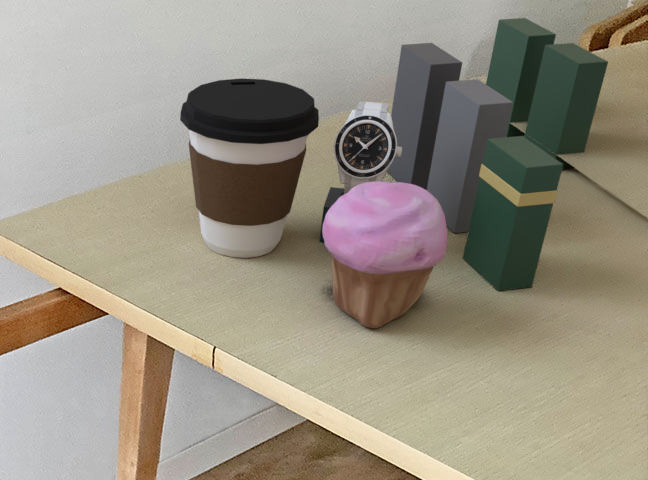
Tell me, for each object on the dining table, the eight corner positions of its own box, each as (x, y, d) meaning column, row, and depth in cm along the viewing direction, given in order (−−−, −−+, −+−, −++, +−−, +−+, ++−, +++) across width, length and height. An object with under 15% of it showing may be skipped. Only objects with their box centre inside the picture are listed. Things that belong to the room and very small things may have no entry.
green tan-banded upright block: (533, 287, 85) (564, 164, 79) (497, 291, 85) (526, 167, 78) (495, 254, 90) (522, 135, 84) (461, 258, 89) (486, 138, 83)
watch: (316, 251, 90) (331, 119, 83) (329, 213, 96) (344, 87, 89) (383, 259, 89) (405, 126, 82) (392, 220, 95) (413, 93, 88)
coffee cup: (169, 216, 95) (173, 77, 88) (291, 213, 96) (305, 74, 88) (184, 273, 87) (189, 124, 79) (318, 269, 87) (335, 121, 80)
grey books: (485, 230, 94) (514, 95, 86) (453, 233, 93) (481, 98, 86) (411, 166, 105) (432, 42, 98) (382, 168, 104) (401, 44, 97)
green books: (580, 167, 105) (608, 61, 99) (552, 170, 104) (579, 63, 98) (504, 115, 116) (525, 17, 110) (478, 118, 116) (498, 19, 110)
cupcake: (292, 301, 83) (305, 175, 77) (380, 276, 87) (400, 154, 80) (364, 353, 77) (385, 221, 71) (456, 324, 81) (484, 196, 74)
